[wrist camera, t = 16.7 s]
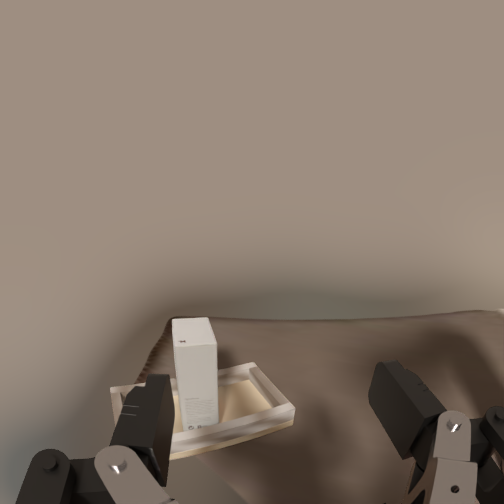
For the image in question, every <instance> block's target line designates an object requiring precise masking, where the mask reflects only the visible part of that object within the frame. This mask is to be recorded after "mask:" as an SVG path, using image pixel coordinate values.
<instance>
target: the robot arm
mask: <svg viewBox="0 0 504 504" xmlns="http://www.w3.org/2000/svg"><path fill="white" fill-rule="evenodd" d="M368 397H369V403H370V405H371V407H372V409H373V410H374V412H375V414H376V415H377V417H378V419H379V420H380V422H381V424H382V426H383V427H384V429H385V431H386V432H387V434H388V436H389V437H390V439H391V441H392V443H393V444H394V446H395V448H396V449H397V451H398V453H399V455H400V456H401V458H402V460H404V459H407V458H410V457H414V458H415V461H414V463H413V465H412V469H411V473H410V476H409V480H408V484H407V487H406V490H405V494H404V497H403V500H402V502H401V504H474V503H475V496H476V498H477V499H478V501H479V503H480V504H504V475H503V474H504V408H503V407H499V406H495V407H491V408H489V409H488V410H487V412H486V414H485V416H484V417H483V418H477V419H469V418H468V417H467V416H466V415H464V414H463V413H461V412H458V411H447V410H446V409H445V407H444V406H443V405H442V404H441V403H440V401H439V400H438V399H437V398H436V397H435V396H434V394H433V393H432V392H431V391H430V390H429V389H428V387H427V386H426V385H425V384H423V382H422V380H421V379H420V378H419V377H418V376H417V375H416V374H414V373H413V372H411V371H409V370H408V369H404V368H403V367H402V365H401V364H400V363H399V362H398V361H397V360H390V361H384V362H379V363H378V364H377V365H376V368H375V371H374V375H373V379H372V382H371V386H370V389H369V394H368ZM174 420H175V406H174V399H173V393H172V387H171V381H170V376H169V375H168V374H148V377H147V380H146V383H145V386H135V387H134V388H133V389H132V390H131V391H130V392H129V393H128V394H127V395H126V398H125V401H124V404H123V407H122V410H121V415H119V418H118V421H117V424H116V427H115V430H114V433H113V437H112V440H111V443H110V445H109V447H106V448H104V449H102V450H101V451H100V452H99V453H98V454H97V455H96V457H94V458H89V459H73V460H69V459H68V458H67V456H66V455H65V454H64V453H63V452H60V451H59V450H55V449H46V450H42V451H40V452H38V453H37V454H36V455H35V456H34V457H33V459H32V461H31V463H30V466H29V468H28V471H27V473H26V476H25V479H24V481H23V484H22V487H21V489H20V492H19V495H18V498H17V501H16V504H179V503H178V502H177V501H176V500H175V499H171V498H170V497H169V496H168V495H167V494H166V493H165V491H164V490H163V489H162V488H161V486H162V487H166V483H167V475H168V467H169V458H170V450H171V443H172V435H173V428H174ZM495 450H497V452H498V453H499V454H500V456H501V457H502V470H503V473H502V472H501V470H500V469H499V467H498V466H497V465H496V463H495V462H494V460H493V459H492V457H491V456H492V454H493V453H494V452H495ZM384 504H386V503H384Z"/></svg>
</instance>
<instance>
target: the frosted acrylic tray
mask: <svg viewBox="0 0 504 504" xmlns="http://www.w3.org/2000/svg"><path fill="white" fill-rule="evenodd" d="M170 381H171V387H172V393H173V399H174V406H175V420H174V428H173V435H172V443H171V450H170V458H169V460H173V459H178V458H183V457H187V456H192V455H196V454H200V453H205V452H209V451H213V450H216V449H220V448H224V447H227V446H231V445H234V444H238V443H241V442H245V441H248V440H251V439H254V438H257V437H260V436H263V435H266V434H269V433H272V432H275V431H278V430H281V429H283V428H286V427H289V426H291V425H293V421H294V413H295V407H294V406H293V405H292V404H291V403H290V402H289V401H288V400H287V398H286V397H285V396H284V395H283V394H282V393H281V392H280V391H279V390H278V389H277V388H276V387H275V385H274V384H273V383H272V382H271V381H270V380H269V379H268V378H267V377H266V376H265V374H264V373H263V372H262V371H261V370H260V369H259V368H258V367H257V365H256V364H255V363H254V362H251V363H247V364H243V365H238V366H234V367H230V368H225V369H220V370H218V407H219V424H215V425H210V426H206V427H202V428H198V429H193V430H188V431H183V426H182V419H181V413H180V406H179V397H178V388H177V378H173V379H170ZM135 386H145V383H141V384H134V385H126V386H118V387H110V391H111V399H112V406H113V413H114V419H115V425H116V424H117V421H118V418H119V415H121V410H122V407H123V404H124V401H125V398H126V395H127V394H128V393H129V392H130V391H131V390H132V389H133V388H134V387H135Z"/></svg>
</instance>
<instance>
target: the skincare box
mask: <svg viewBox="0 0 504 504" xmlns="http://www.w3.org/2000/svg"><path fill="white" fill-rule="evenodd" d="M172 333H173V347H174V359H175V368H176V378H177V388H178V397H179V406H180V413H181V419H182V426H183V431H188V430H193V429H198V428H202V427H206V426H210V425H215V424H219V407H218V367H217V342H216V339H215V335H214V333H213V330H212V328H211V325H210V322H209V319H208V317H207V318H187V319H173V320H172Z"/></svg>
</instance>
